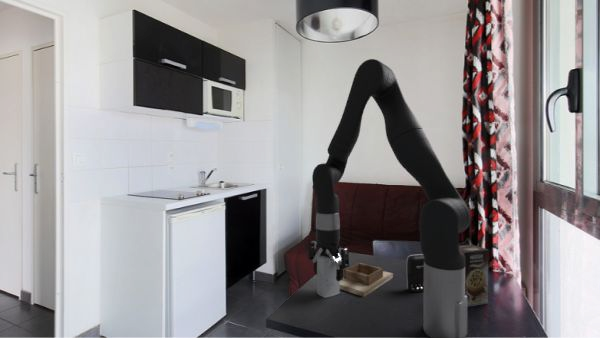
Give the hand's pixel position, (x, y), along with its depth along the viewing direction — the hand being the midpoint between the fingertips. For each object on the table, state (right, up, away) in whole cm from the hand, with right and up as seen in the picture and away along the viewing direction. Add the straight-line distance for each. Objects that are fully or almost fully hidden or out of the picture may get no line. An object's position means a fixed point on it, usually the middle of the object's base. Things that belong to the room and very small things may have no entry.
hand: (328, 276), depth 102 cm
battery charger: (+29, -5, +1) cm, 30 cm away
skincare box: (0, -6, 0) cm, 6 cm away
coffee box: (+41, -5, -6) cm, 42 cm away
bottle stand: (+13, -5, +9) cm, 16 cm away
